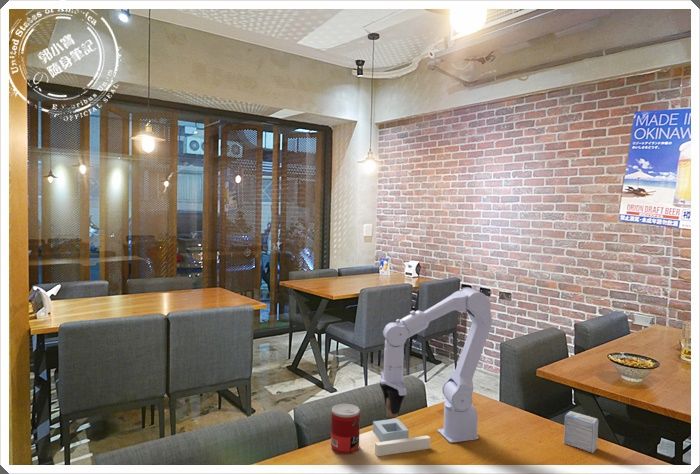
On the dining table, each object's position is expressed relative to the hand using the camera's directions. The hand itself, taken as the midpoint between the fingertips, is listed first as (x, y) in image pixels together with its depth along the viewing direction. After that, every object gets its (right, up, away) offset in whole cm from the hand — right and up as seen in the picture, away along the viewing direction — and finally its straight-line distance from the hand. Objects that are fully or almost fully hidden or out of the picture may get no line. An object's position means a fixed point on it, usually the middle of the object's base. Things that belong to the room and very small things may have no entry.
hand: (392, 410), depth 133 cm
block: (0, -8, +1) cm, 8 cm away
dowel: (0, -2, 0) cm, 2 cm away
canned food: (-14, -8, -6) cm, 17 cm away
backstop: (+2, -9, -7) cm, 11 cm away
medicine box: (+54, -10, -2) cm, 55 cm away
